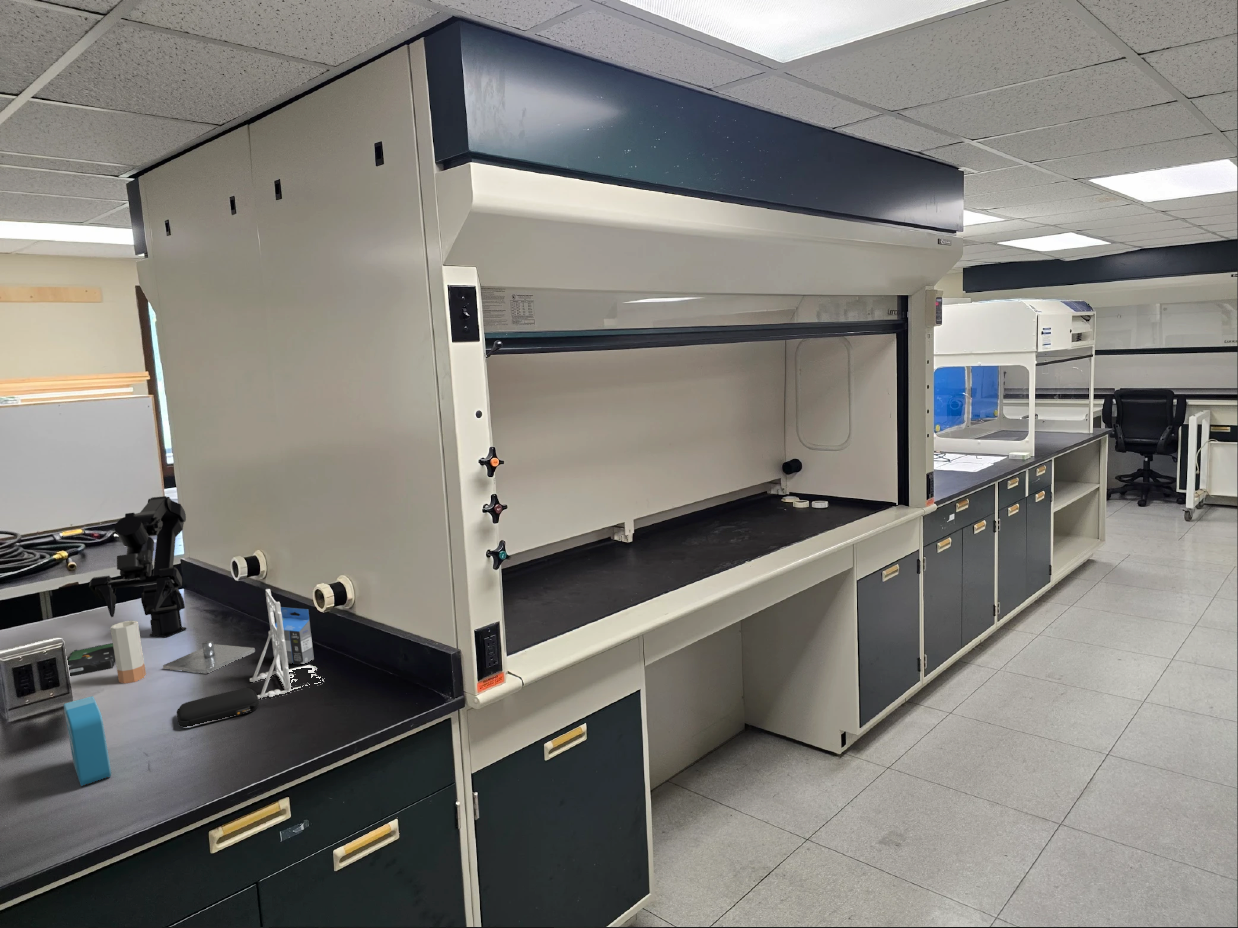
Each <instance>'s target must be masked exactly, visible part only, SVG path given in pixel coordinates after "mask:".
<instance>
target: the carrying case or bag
mask: <svg viewBox="0 0 1238 928" xmlns="http://www.w3.org/2000/svg"><path fill="white" fill-rule="evenodd" d="M259 705H260V700H258V697H257V692H256V691H255V690H253V689H252V688H250V687H243V688H239V689H235V690H234V689H233V690H231V691H227V692H222V693H218V694H214V695H211V696H210V695H209V696H205V697H203V698H199V699H194V700H190V701H186V702H184V703H181V705H180V706H179V707H178V708H177V710H176V719H177V725H178V726H180V727H182V728H183V727H187V726H193V725H195V724H200V723H204V722H207V721H212V720H218V719H222V718H225V717H230V716H234V715H236V716H235V717H238V716H242V715H241V714H243V713H246V712H250V711H253V710H255V709H257V708H258V707H259ZM255 711H256V710H255ZM253 712H254V711H253ZM250 713H251V712H250ZM243 715H244V714H243Z"/></svg>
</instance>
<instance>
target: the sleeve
mask: <svg viewBox="0 0 1238 928" xmlns="http://www.w3.org/2000/svg"><path fill="white" fill-rule="evenodd" d="M139 627H140V626H139V622H138V621H137V620H126V621H120V622H118V623H115V624H112V625H111V626H110V628H109V629H110V634H111V640H112V643H113V648H114V654H115V660H116V661H115V665H116V670H117V671H116V672H117V677H118V683H120V684H131V683H136V682H139V681H141V680H143V679H142V678H144V679H145V677H146V676H147V673H146V672H147V671H146V666H145V659H144V654H143V647H142V642H141V641H142V639H141V636H140V635H141V634H140V628H139ZM145 675H146V676H145ZM144 676H145V677H144ZM140 679H141V680H140ZM138 680H139V681H138Z"/></svg>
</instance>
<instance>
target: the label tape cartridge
mask: <svg viewBox="0 0 1238 928" xmlns="http://www.w3.org/2000/svg"><path fill="white" fill-rule="evenodd" d="M280 607H281V614H282V622H283V629H284V638H285V645H286V652H287V660H288V664H292V663H293V665H300V664H305V663H307V664H308V662H309V663H311V662H312V661H314V660H315V657H314V648H313V642H312V641H313V640H312V633H311V631H312V630H311V622H310V614H309V613H310V612H309V610H310V609H308V608H297V607H284V606H280ZM294 613H296V614H298V615H295V614H294ZM293 614H294V615H293ZM275 627H276V628H277V622H276V621H275ZM279 658H280V656H279ZM311 660H312V661H311ZM310 661H311V662H310ZM280 663H282V662H281V658H280ZM305 665H306V664H305Z"/></svg>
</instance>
